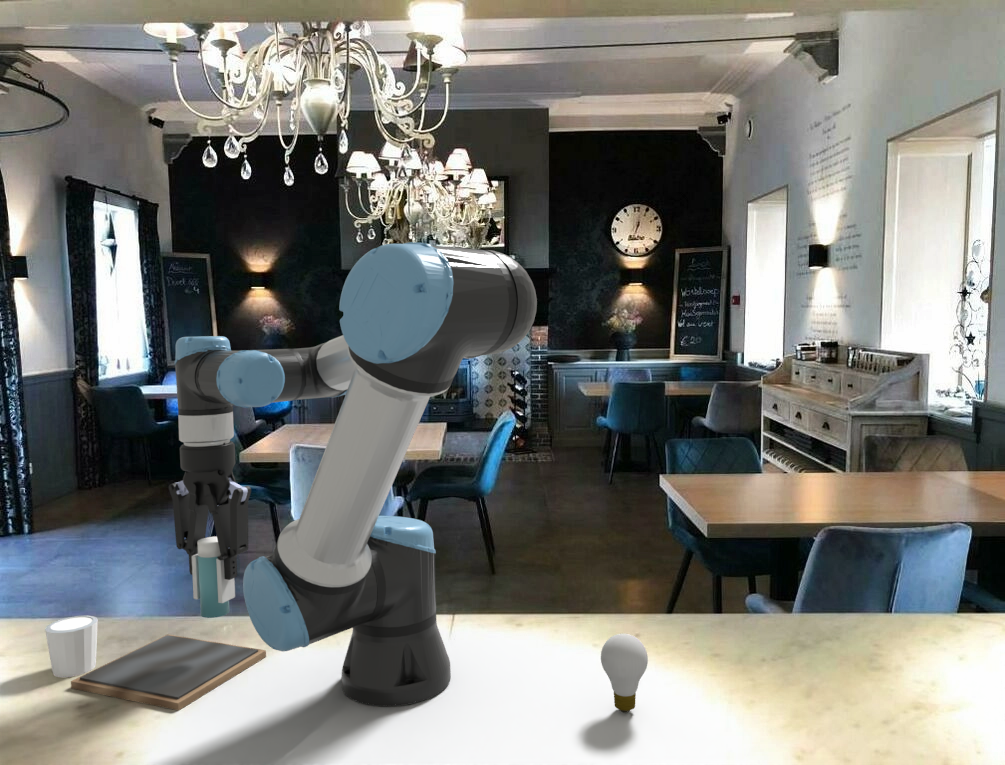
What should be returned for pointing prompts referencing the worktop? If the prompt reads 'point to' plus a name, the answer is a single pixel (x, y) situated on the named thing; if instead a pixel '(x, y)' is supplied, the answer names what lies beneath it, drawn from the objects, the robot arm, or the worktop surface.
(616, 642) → the light bulb
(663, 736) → the worktop surface
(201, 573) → the teal bottle
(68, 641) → the white tapered cup
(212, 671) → the slate board
